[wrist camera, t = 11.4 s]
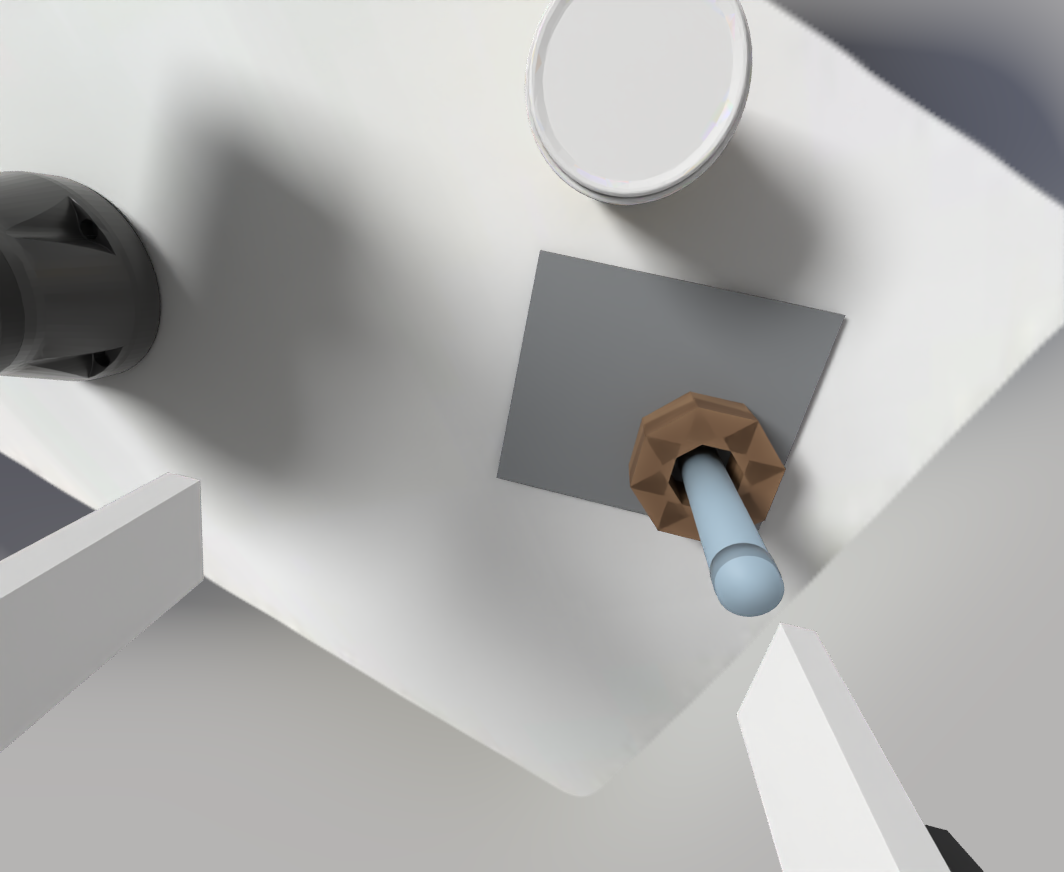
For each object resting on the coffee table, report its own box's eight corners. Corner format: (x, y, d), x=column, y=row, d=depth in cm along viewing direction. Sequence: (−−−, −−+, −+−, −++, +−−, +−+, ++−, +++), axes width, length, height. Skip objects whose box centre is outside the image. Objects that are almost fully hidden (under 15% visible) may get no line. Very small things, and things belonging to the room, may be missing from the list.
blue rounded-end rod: (670, 469, 38) (706, 607, 23) (682, 433, 37) (727, 553, 22) (710, 479, 38) (771, 624, 23) (723, 443, 37) (795, 570, 22)
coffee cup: (706, 209, 33) (753, 187, 22) (559, 227, 35) (533, 215, 23) (707, 34, 30) (761, -95, 19) (546, 63, 32) (509, -41, 21)
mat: (498, 474, 41) (496, 477, 41) (541, 250, 35) (540, 250, 35) (751, 537, 40) (753, 541, 39) (841, 314, 34) (845, 315, 33)
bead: (619, 495, 40) (619, 521, 36) (652, 382, 37) (656, 397, 33) (738, 525, 39) (751, 554, 35) (782, 412, 36) (801, 430, 32)
